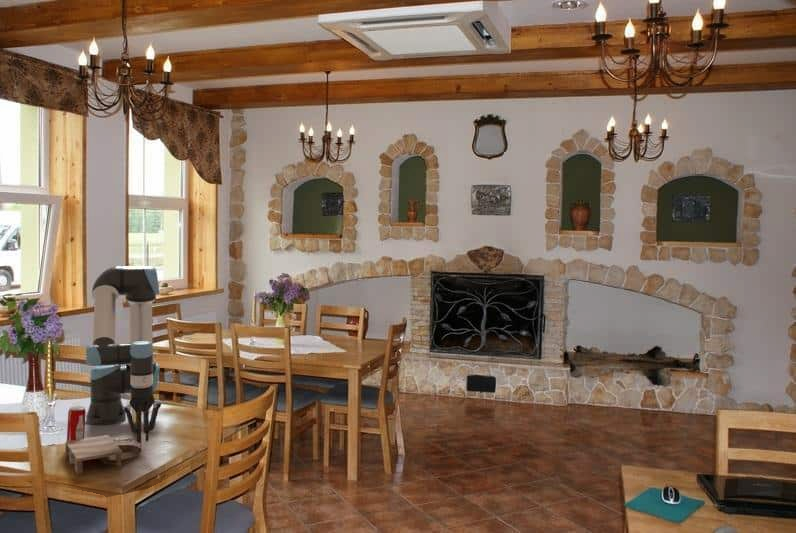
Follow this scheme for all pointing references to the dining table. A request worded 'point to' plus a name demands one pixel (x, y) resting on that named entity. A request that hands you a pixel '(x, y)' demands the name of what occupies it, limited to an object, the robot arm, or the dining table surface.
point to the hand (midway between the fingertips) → (142, 450)
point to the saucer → (123, 455)
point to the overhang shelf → (91, 451)
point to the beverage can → (76, 423)
